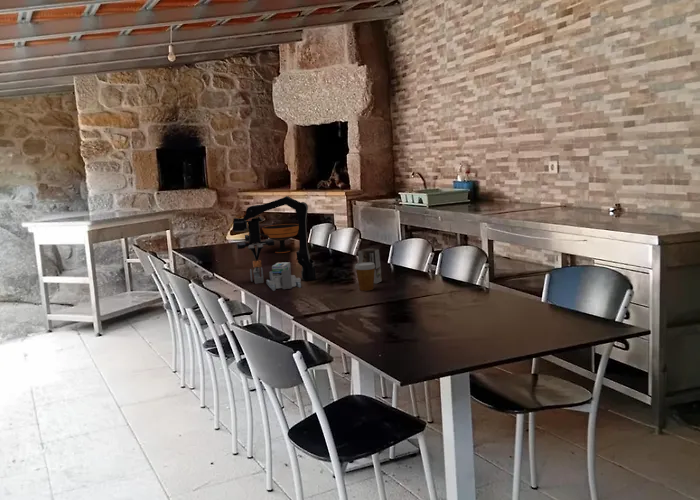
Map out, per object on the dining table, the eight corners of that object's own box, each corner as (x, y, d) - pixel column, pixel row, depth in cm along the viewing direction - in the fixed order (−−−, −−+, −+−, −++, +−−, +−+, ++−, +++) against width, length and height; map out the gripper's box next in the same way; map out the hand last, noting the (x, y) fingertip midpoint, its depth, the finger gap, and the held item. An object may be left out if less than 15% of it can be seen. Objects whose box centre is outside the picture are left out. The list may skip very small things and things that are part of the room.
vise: (288, 276, 349) (287, 264, 348) (301, 287, 317) (300, 274, 316) (250, 280, 344) (249, 268, 343) (260, 292, 312) (258, 279, 311)
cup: (260, 257, 427) (257, 230, 424) (253, 252, 451) (251, 227, 448) (313, 251, 438) (311, 225, 435) (303, 247, 462) (302, 222, 459)
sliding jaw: (300, 284, 323) (298, 266, 322) (302, 287, 316) (301, 268, 315) (269, 288, 319) (268, 270, 318) (272, 290, 312) (270, 272, 311)
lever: (260, 274, 343) (259, 269, 345) (261, 264, 335) (260, 258, 337) (253, 275, 342) (252, 269, 344) (253, 265, 334) (252, 259, 336)
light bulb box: (286, 287, 321) (284, 265, 319) (273, 287, 322) (271, 265, 321) (292, 282, 331) (290, 261, 330) (279, 283, 332) (277, 262, 331)
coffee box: (382, 281, 319) (380, 248, 317) (377, 283, 314) (375, 250, 311) (365, 280, 323) (363, 248, 321) (359, 283, 318) (357, 250, 315)
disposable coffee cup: (366, 286, 309) (364, 261, 307) (381, 288, 302) (379, 262, 300) (352, 290, 302) (350, 264, 301) (366, 292, 296) (365, 266, 294)
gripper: (269, 227, 345) (272, 256, 347) (234, 230, 340) (237, 260, 342) (273, 229, 334) (275, 259, 336) (236, 232, 329) (239, 263, 331)
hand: (256, 260), depth 337 cm, fingers closed, pressing on lever
